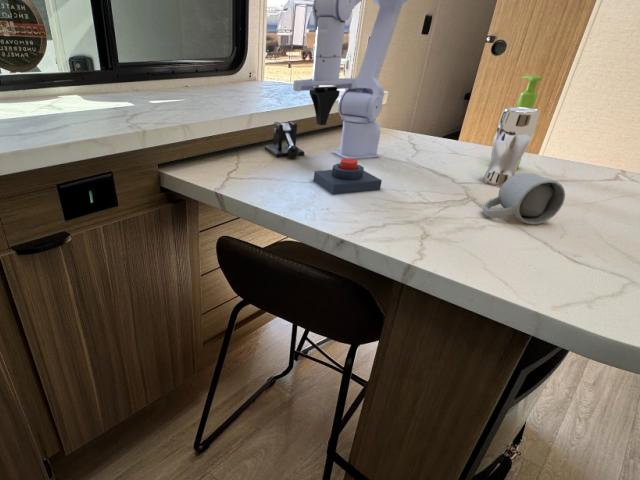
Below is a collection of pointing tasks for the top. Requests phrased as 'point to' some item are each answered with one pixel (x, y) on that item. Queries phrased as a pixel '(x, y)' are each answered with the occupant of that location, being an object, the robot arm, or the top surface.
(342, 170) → the control block
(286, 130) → the switch lever
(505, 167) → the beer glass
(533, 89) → the soap dispenser
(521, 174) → the ceramic mug
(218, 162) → the top surface
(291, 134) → the switch bracket
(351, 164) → the button
